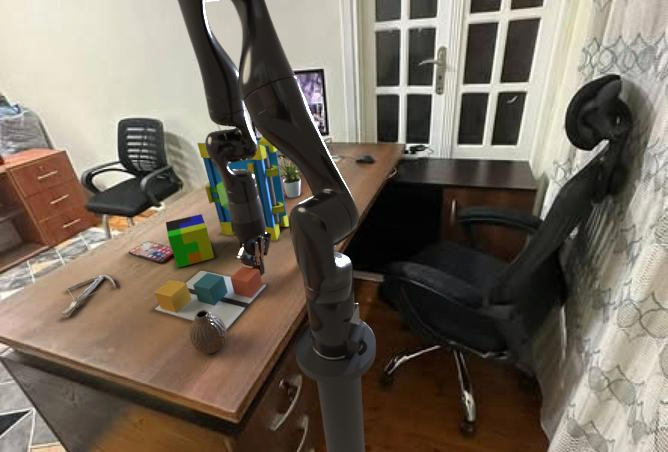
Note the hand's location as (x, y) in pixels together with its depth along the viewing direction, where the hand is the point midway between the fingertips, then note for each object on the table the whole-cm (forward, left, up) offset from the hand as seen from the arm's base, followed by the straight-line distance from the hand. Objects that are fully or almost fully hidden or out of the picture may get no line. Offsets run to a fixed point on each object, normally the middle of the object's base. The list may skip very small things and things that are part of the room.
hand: (260, 274), depth 90 cm
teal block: (+7, +10, -1) cm, 12 cm away
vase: (-3, +23, -2) cm, 23 cm away
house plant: (+19, -50, -2) cm, 53 cm away
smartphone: (+39, -1, -2) cm, 39 cm away
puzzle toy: (+26, -4, -2) cm, 26 cm away
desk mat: (+8, +10, -1) cm, 13 cm away
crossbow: (+40, +20, -2) cm, 45 cm away
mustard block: (+14, +15, -1) cm, 21 cm away
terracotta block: (0, +5, -1) cm, 5 cm away
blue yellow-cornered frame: (+16, -22, -2) cm, 27 cm away
